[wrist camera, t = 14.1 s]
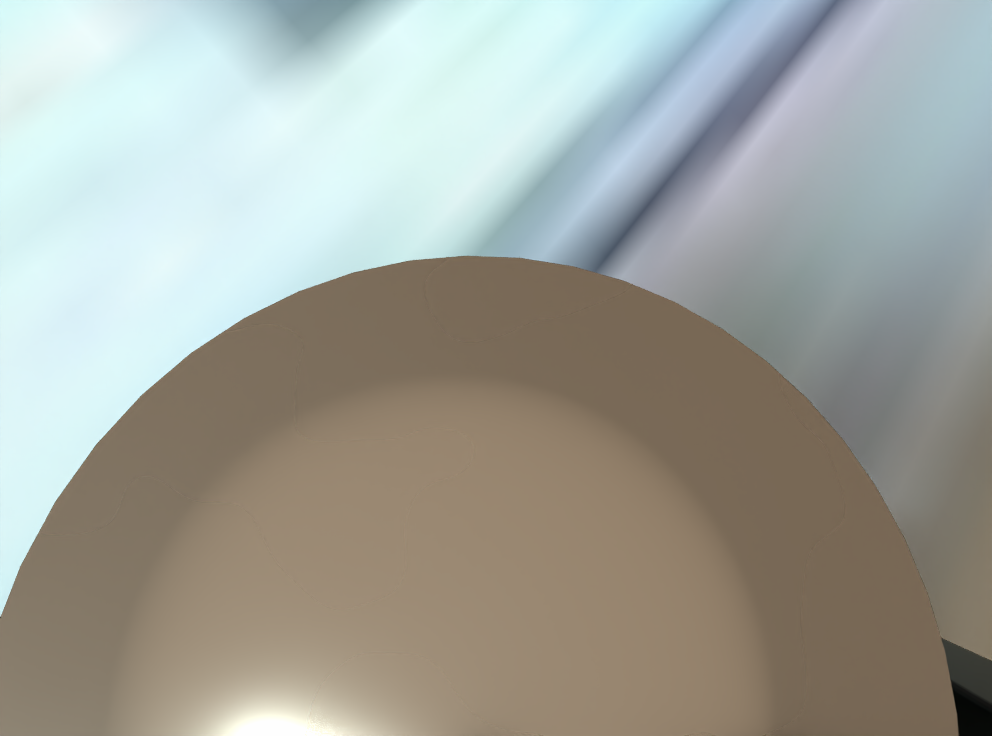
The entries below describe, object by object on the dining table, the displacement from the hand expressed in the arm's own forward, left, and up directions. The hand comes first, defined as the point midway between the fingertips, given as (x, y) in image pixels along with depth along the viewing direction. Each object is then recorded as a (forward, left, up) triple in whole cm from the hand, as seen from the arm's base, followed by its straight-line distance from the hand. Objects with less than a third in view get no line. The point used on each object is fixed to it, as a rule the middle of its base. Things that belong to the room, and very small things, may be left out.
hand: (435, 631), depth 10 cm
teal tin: (-1, 0, -8) cm, 8 cm away
